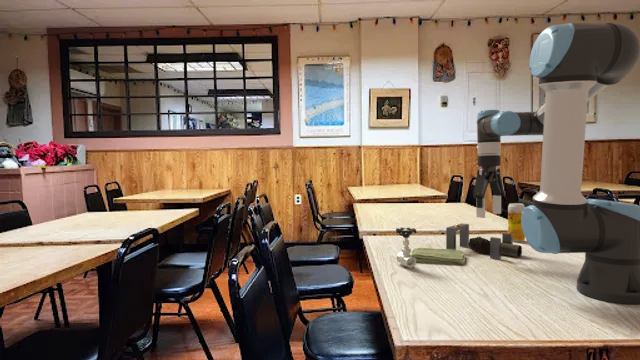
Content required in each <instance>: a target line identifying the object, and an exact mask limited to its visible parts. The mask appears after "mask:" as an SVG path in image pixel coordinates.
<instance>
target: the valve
mask: <svg viewBox="0 0 640 360" xmlns="http://www.w3.org/2000/svg"><path fill="white" fill-rule="evenodd" d="M395 232H396V234H398V235H399V236H401V237H402V238H404V240H402V245H403V247H402V248H401V249H400V252H399V253H398V254H397V255H396V261H397V262H398V263H400V265H401V266H403V267H405V268H409V269H414V267H416V266H417V262H416V259H415V258H413V257H412V256H411V253H412V248H410V246H409V245H410V240H409V239H408V238H410V236H411V235H412V234H417V229H416V228H411V227H400V228H398V227H396V228H395Z"/></svg>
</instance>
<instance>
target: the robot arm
mask: <svg viewBox="0 0 640 360" xmlns="http://www.w3.org/2000/svg"><path fill="white" fill-rule="evenodd" d="M639 61H640V37H639V35H638V34H637V33H636V31H635V30H634V29H633V28H631V27H630V26H628V25H626V24H624V23H623V24H622V23H618V22H606V23H603V22H601V23H600V22H599V23H597V22H596V23H595V22H593V23H589V22H586V23H582V22H581V23H577V22H575V23H573V22H568V23H567V22H566V23H561V24H553V25H550V26H548V27H546V28H545V29H543V30H542V31H541V33H539V35H538V36H537V38H536V39H535V42H534V43H533V46H532V48H531V51H530V55H529V64H528V65H529V70H530V73H531V75H532V76H533V77H535V78H537V79H538V80H539V81H538V87H539V88H540V89H542V91H544V94H545V99H544V103H543V104H542V105H541V106H540V107H539V108H538V109H537V110H536V111H522V112H520V111H519V112H518V111H517V112H516V111H511V110H507V111H503V110H502V111H500V110H499V109H485V110H480V111H479V112H477V118H476V125H477V126H476V128H477V129H476V131H477V132H476V133H477V136H476V137H477V145H476V149H477V154H478V156H477V163H476V164H477V166H478V167H481V168H478V169H477V170H476V179H475V185H474V187H473V192H472V193H473V194H472V196H473V197H472V198H473V199H476V200H475V201H476V210H475V211H476V218H480V219H485V218H486V198H485V195H486V192H487V190H488V186H489V185H490V188H491V191H492V194H493V195H492V214H495V215H496V214H497V215H501V214H502V197H504V196H505V191H504V186H503V181H502V174H501V169H500V168H497V167H500V166H501V165H502V159H501V157H502V156H501V154H502V147H501V145H502V141H501V137H505V136H507V137H510V136H513V137H514V136H519V137H521V136H542V137H543V138H542V149H541V151H542V153H541V166H540V167H541V168H540V169H541V170H540V184H539V185H540V186H539V191H538V192H537V193H536V194H534V195H533V196H532V202H531V203H532V205H531V204H530V205H528V206H525V208H524V210H523V212H522V216H521V223H522V229H523V233H524V236H525V240H526V242H527V243H528V245H529V246H530V247H531V248H532V249H533V250H534V251H535V252H538V253H540V254H553V255H559V254H582V253H583V254H584V262H583V264H582V266H581V269H580V271H579V273H578V276H577V278H576V290H577V292H579V293H580V294H583V295H584V296H587V297H590V298H593V299H596V300H599V301H605V302H610V303H617V304H627V305H628V304H629V305H640V205H638V204H636V203H635V204H634V203H628V202H622V201H621V202H620V201H615V200H614V201H613V200H605V199H596V198H586V197H585V196H584V195H583V194H582V183H583V182H582V181H583V170H584V155H585V154H584V153H585V143H586V142H585V141H586V128H587V126H586V125H587V112H588V102H589V101H590V100H592V98H594V97H596V95H598V93H600V92H602V91H603V90H604V89H605V88H607V87H609V86H614V85H617V84H618V83H619V82H621V81H622V80H623V79H625V78H626V77H627V76H628V75H629V74H631V72H632V71H633V70H634V69H635V68H636V66H637V65H638V63H639Z"/></svg>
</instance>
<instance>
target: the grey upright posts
mask: <svg viewBox="0 0 640 360" xmlns="http://www.w3.org/2000/svg"><path fill="white" fill-rule="evenodd" d="M445 230H446V231H445V234H446V235H445V239H446V240H445V241H446V242H445V245H446V246H445V247H446V248H445V249H453V250H457V232H459V247H462V248H469V240H470V224H469V223H456V224H454V225H451V226H447V227H446V229H445ZM501 234H502V235H501V237H502V238H501V237H494V236H491V237H490V239H489V241H490V254H489V257H490V258H489V259H491V260H492V259H493V260H498V261H499V260H501V259H502V254H501V243H507V244H514V243H513V234H511V233H508V232H503V233H501Z"/></svg>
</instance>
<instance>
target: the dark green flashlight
mask: <svg viewBox="0 0 640 360" xmlns="http://www.w3.org/2000/svg"><path fill="white" fill-rule="evenodd" d="M468 248H469V249H471V250H473V251H475V252H476V253H478V254H480V255H481V254H482V255H490V239H489V240H488V239H487V238H483V237H482V236H477V237H471V238H470V237H469V247H468ZM522 253H523V247H522V245H518V244H514V243H513V244H507V243H502V242H501V255H503V256H509V257H513V258H521V257H522ZM520 256H521V257H520Z"/></svg>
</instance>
